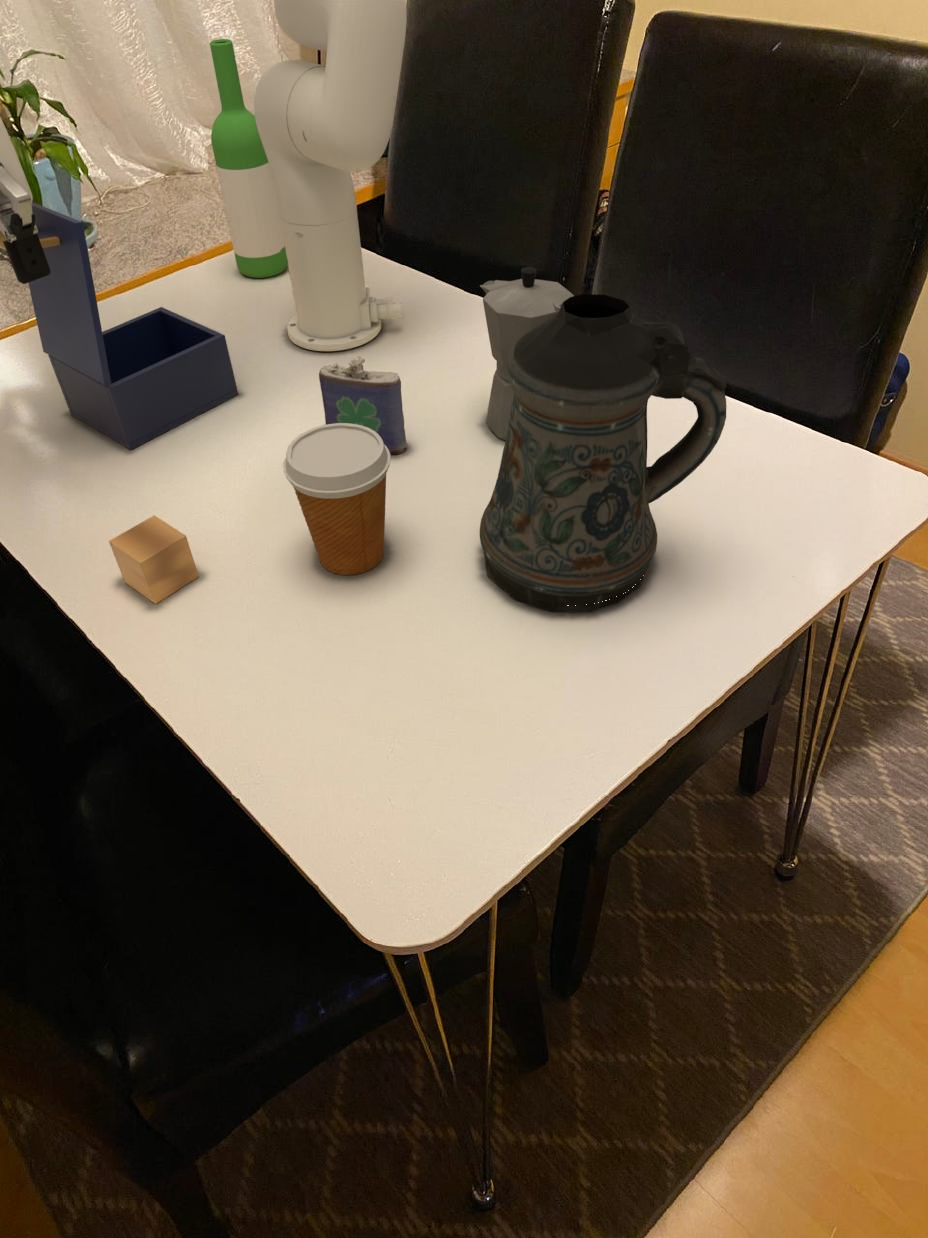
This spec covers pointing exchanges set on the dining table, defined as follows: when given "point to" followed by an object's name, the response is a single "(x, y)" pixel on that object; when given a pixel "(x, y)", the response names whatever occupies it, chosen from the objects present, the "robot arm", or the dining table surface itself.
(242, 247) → the wine bottle
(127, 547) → the block
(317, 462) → the disposable coffee cup
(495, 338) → the coffeepot
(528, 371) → the beer stein
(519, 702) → the dining table surface
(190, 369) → the chest
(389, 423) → the flask
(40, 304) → the lid
